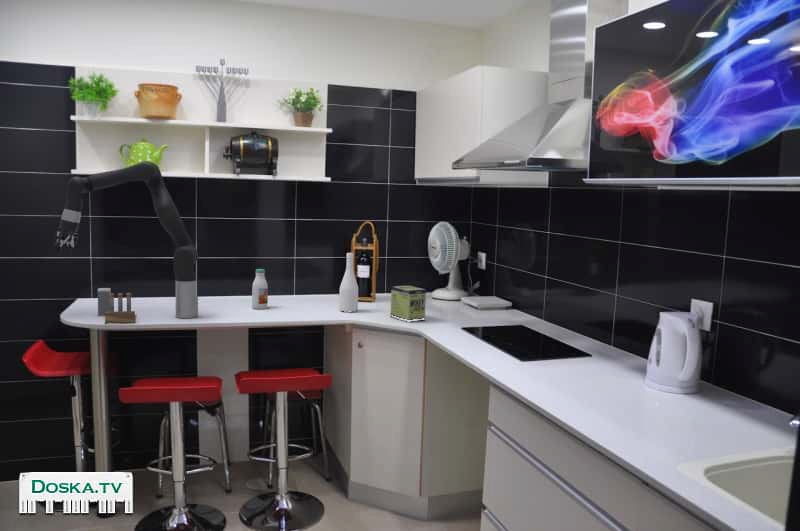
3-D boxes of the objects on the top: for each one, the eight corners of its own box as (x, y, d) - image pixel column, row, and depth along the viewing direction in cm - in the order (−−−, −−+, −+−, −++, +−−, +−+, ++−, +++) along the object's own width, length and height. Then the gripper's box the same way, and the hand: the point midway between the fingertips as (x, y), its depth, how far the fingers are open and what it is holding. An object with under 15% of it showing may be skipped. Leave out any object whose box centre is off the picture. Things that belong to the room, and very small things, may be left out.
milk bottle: (252, 309, 330) (252, 270, 328) (251, 306, 338) (252, 268, 335) (268, 309, 333) (268, 270, 330) (266, 306, 340) (267, 268, 338)
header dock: (108, 316, 301) (107, 289, 299) (136, 315, 305) (136, 288, 303) (105, 323, 286) (104, 295, 284) (134, 323, 290) (134, 294, 288)
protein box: (408, 322, 313) (409, 290, 311) (389, 317, 326) (390, 286, 324) (425, 320, 319) (427, 289, 318) (406, 315, 332) (407, 284, 330)
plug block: (99, 313, 306) (98, 288, 305) (111, 313, 308) (110, 288, 307) (98, 316, 302) (97, 290, 300) (110, 315, 303) (109, 289, 302)
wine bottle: (354, 313, 331) (356, 254, 327) (336, 312, 332) (338, 253, 329) (359, 310, 340) (361, 252, 336) (342, 308, 342) (343, 251, 338)
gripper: (69, 220, 291) (60, 256, 291) (86, 223, 305) (79, 257, 305) (53, 217, 292) (45, 252, 292) (72, 219, 306) (64, 253, 306)
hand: (62, 254), depth 299 cm, fingers open, 8 cm apart
